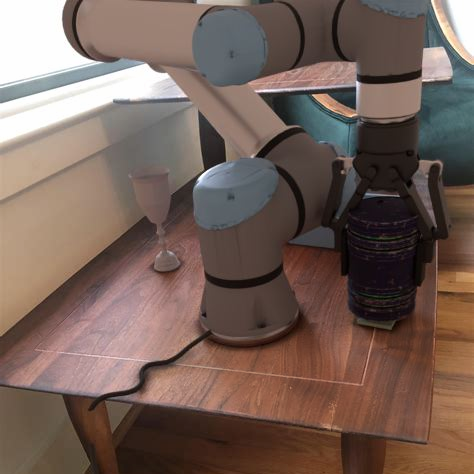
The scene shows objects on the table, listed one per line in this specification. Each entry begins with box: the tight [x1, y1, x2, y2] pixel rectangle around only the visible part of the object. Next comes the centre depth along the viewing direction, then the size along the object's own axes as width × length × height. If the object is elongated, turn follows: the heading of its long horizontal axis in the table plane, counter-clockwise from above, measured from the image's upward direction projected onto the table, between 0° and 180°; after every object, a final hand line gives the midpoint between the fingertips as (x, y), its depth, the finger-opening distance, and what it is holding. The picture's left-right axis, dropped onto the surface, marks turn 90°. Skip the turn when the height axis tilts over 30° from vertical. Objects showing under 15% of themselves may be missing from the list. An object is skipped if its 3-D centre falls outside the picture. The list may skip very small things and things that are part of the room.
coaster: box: [356, 317, 396, 331], centre depth 81 cm, size 7×5×1 cm
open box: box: [288, 192, 400, 250], centre depth 106 cm, size 14×19×6 cm
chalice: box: [128, 165, 181, 272], centre depth 99 cm, size 7×7×18 cm
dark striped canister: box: [346, 195, 422, 322], centre depth 77 cm, size 10×10×15 cm
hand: (382, 276), depth 78 cm, fingers closed on dark striped canister, 10 cm apart
